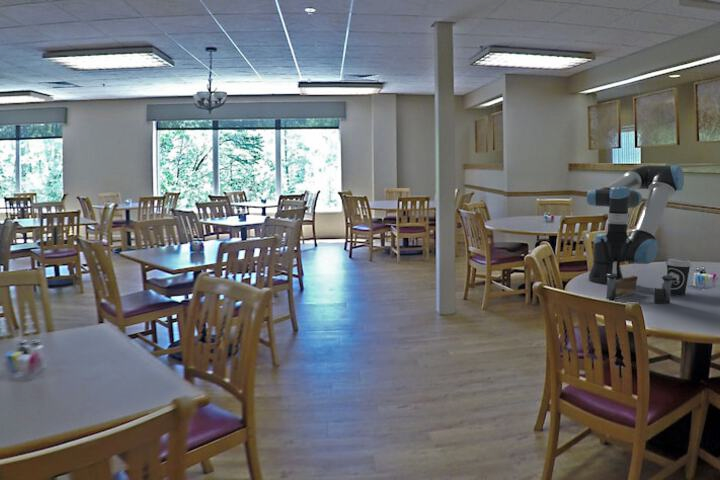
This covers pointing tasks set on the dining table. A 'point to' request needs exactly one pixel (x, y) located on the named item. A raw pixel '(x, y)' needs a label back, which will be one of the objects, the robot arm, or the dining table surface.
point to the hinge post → (611, 286)
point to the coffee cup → (678, 275)
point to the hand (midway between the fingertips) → (614, 276)
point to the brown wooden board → (625, 286)
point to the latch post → (663, 291)
